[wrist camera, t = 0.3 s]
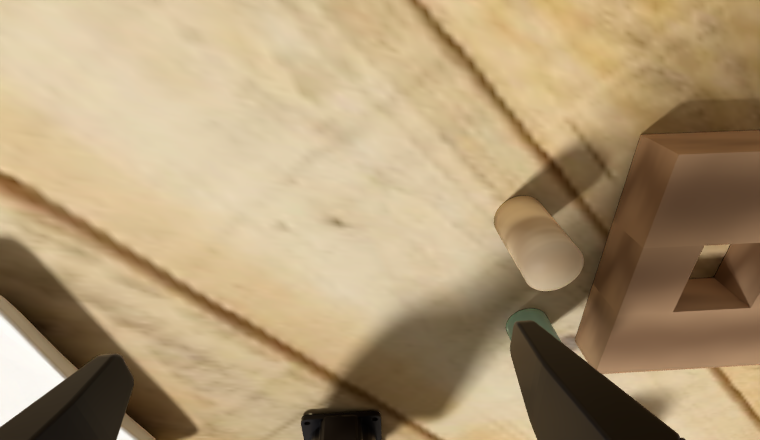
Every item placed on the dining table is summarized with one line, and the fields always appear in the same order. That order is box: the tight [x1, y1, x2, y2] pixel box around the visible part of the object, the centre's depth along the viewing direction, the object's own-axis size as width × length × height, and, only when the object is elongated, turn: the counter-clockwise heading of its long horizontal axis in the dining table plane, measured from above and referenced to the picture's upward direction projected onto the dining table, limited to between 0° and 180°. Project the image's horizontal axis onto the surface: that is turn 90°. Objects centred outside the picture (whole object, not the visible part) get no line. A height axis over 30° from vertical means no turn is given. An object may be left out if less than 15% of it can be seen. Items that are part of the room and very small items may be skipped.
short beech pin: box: [494, 196, 584, 291], centre depth 22 cm, size 3×3×5 cm
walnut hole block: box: [575, 130, 760, 374], centre depth 25 cm, size 16×12×3 cm
